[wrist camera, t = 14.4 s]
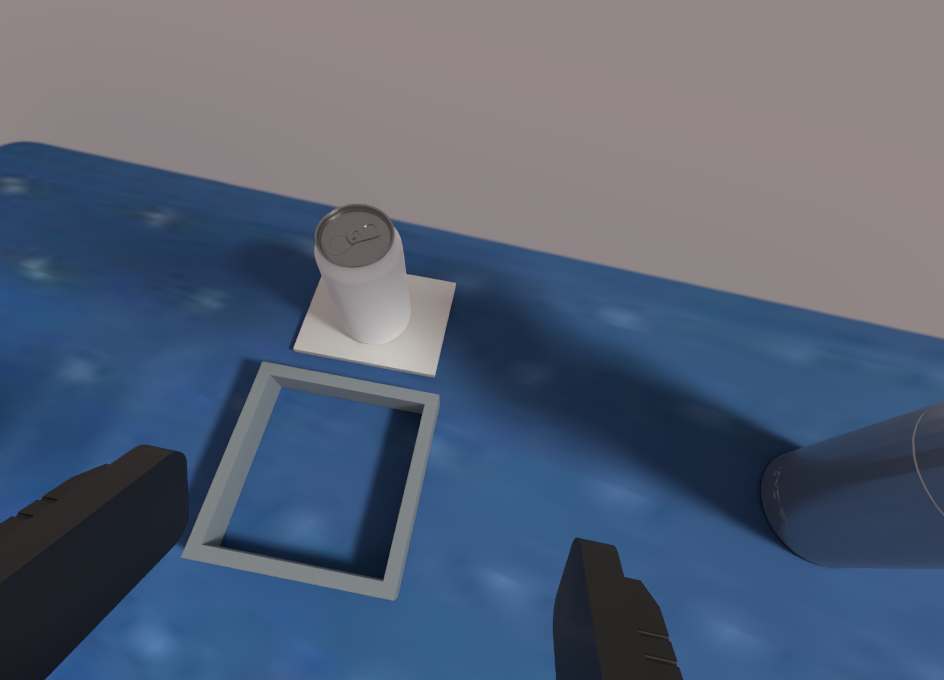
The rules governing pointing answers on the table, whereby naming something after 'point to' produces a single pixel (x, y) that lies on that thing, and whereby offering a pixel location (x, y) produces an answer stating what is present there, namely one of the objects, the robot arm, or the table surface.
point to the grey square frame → (243, 451)
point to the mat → (404, 353)
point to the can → (364, 272)
